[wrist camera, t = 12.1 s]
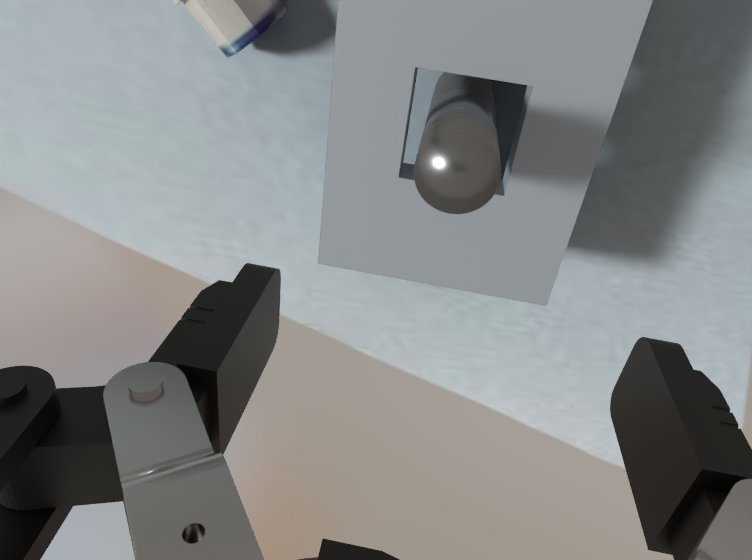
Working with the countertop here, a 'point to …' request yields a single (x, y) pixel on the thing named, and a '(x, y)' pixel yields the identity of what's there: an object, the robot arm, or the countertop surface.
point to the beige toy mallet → (235, 20)
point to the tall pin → (459, 146)
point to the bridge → (528, 151)
